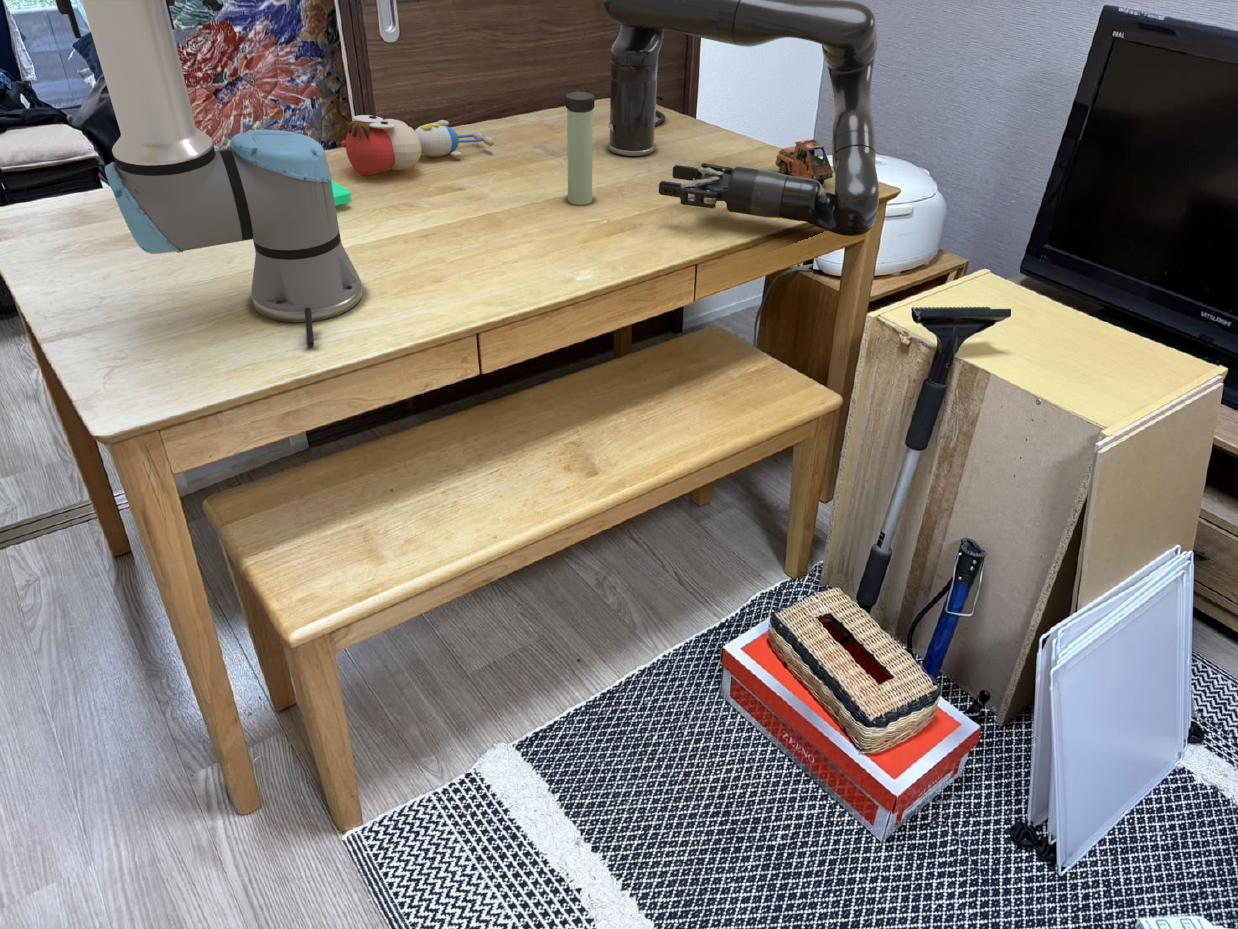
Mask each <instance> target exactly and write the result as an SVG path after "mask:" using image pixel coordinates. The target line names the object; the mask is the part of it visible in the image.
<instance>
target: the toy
mask: <svg viewBox="0 0 1238 929" xmlns="http://www.w3.org/2000/svg"><path fill="white" fill-rule="evenodd" d="M352 119H353V120H352V121H350V122H349V123H348V125H347V134H346V138H345V139H344V140H342V141H341V142H340V145H341V147H342V148H344V149H345V152H346V156H347V158H348V161H349V163H350V164H351V167H352V168H353V170H354V172H355V173H356V174H357V175H360V176H371V175H376V174H377V175H378V174H381V173H384V172H387V171H390V170H392V171H404V170H409V169H411V168H413V167H414V166H415V165H416V164H417V163H418V162H419V160H420V158H421V155H425V156H428V157H429V156H430V157H443V156H446V155H449V154H450V156H451V157H453V158H459V157H462V155H463V153H462V152H461V151H458V150H456V149H457V148H458V147H459V143H462V144H464V143H465V144H467V143H468V144H469V143H478V142H483V144H485V145H487V146H489V147H492V146H494V144H495V141H494V139H493V138H492V137H490V136H484V135H483V134H482V133H481V132H479V131H475V132H473V133H471V134H459V135H458V133H457V132H456V130H454V129H453V128H451V127H450V126H449V125H450V123H449V121H448V120H445V119H440V120H438V121H436V122H431V123H426V124H423V125H420V126H418V127H417V128H416V129H414V128H412V127H411V126H410V123H407V122H406V121H402V120H399V119H397V118H385V119H384V118H382V117H380V116H378V115H377V116H376V115H370V114H360V115H355V116H353V117H352ZM465 138H473V139H465Z"/></svg>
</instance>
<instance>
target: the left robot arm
mask: <svg viewBox="0 0 1238 929" xmlns="http://www.w3.org/2000/svg"><path fill="white" fill-rule="evenodd" d="M54 2H55V5H56V8H57V10H58V12H59V14H60V15H63V16H64V15H67V18H68V20H69V23H70V27H71V30H72V33H73V36H74V37H75V39H79V40H80V39H83V38H82V35H81V34H82V33H81V30H80V28H79V24H78V21H77V17H76V14H75V11H74V8H73V4H72V1H71V0H54ZM81 2H82V6H83V10H84V13H85V16H86V19H87V23H88V26H89V30H90V33H91V37H92V39H93V43H94V44H93V45H94V47H95V50H96V54H97V58H98V60H99V63H100V67H101V70H102V74H103V77H104V82H105V84H106V88H107V92H108V93H109V98H110V102H111V104H112V108H113V112H114V115H115V119H116V122H117V125H118V128H119V132H120V136H119V138H118V139H117V140H116V142H115V143H114V144H113V146H112V148H111V152H112V155H113V159H114V161H111V162H110V163H109V164H106V165H105V167H104V172H105V175H106V178H107V179H106V180H107V181H108V185H109V187H110V189H111V191H112V194H113V196H114V198H115V201H116V204H117V206H118V208H119V211H120V213H121V216H122V217H123V219H124V221H125V223H126V226H127V228H128V230H129V232H130V233H131V236H132V237H133V239H134V241H135V243H136V244H137V246H138V247H139V248H140V249H141V250H142V251H144V252H145V253H148V254H151V255H158V254H169V253H179V254H182V253H184V252H185V251H192V250H197V249H202V248H203V249H204V248H209V247H210V248H211V247H215V246H222V245H228V244H233V243H239V242H246V241H250V240H251V241H252V242H253V247H254V251H255V258H254V264H253V273H252V283H251V291H250V293H251V299H252V303H253V307H254V309H255V310H256V311H257V313H259V314H260V315H262V316H264V317H266V318H268V319H271V320H275V321H281V322H289V323H304V322H305V329H306V330H305V332H306V344H307V347H309V348H313V347H314V346H315V338H314V327H313V322H314V321H315V322H316V321H320V320H326V319H330V318H332V317H336V316H338V315H341V314H343V313H345V312H348V311H349V310H351V309H353V308H354V307H355V306H356V305H357V304H358V303H359V302H360V301H361V298H362V297H363V287H362V282H361V278H360V276H359V274H358V272H357V270H356V268H355V266H354V264H353V263H352V261H351V259H350V257H349V255H348V253H347V251H346V250H345V248H344V245H343V243H342V239H341V233H340V226H339V220H338V214H337V209H336V206H335V201H334V195H333V189H332V183H331V181H333V174H332V173H331V170H330V166H329V162H328V158H327V154H326V151H325V149H324V147H323V145H322V144H321V143H320V142H318V141H317V140H315V139H314V138H312V137H310V136H308V135H304V134H301V133H298V132H293V131H287V130H280V129H251V130H246V131H244V132H238V133H236V134H234V135H233V136H232V137H231V139H230V143H229V147H230V149H223V150H216V149H215V145H214V142H213V138H212V137H211V136H210V135H208V134H207V133H206V132H204V131H202V130H201V129H199V128H198V127H197V124H196V121H195V118H194V112H193V109H192V104H191V100H190V96H189V93H188V88H187V84H186V80H185V76H184V72H183V67H182V64H181V63H182V62H181V59H180V55H179V51H178V48H177V41H176V39H175V35H174V31H175V25H174V21H173V17H172V13H171V8H170V7H173V6H176V0H81Z"/></svg>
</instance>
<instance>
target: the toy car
mask: <svg viewBox="0 0 1238 929" xmlns="http://www.w3.org/2000/svg"><path fill="white" fill-rule="evenodd" d="M794 144H795V145H793V146H789V147H783V148H781V149H780V150H779V151H778V154H777V155H776V160H775V162H774V164H775V166H776V167H778V168H779V173H781V174H784V175H788V176H796V177H803V178H809V179H814V180H817V181H818V182H819V183H820V184H821V186H823V185H824V184H825V181H826V180H829V179H832V178H833V177H834V176H833V174H835V173H834V170H833V168H832V166H831V163H830V161H829V159H828V158H829V157H828V156H827V153H826V151H825V146H823V145H822V144H820V143H818V142H817V140H815V139H814V138H812V139H811V138H810V139H804V140H799V141H794ZM818 150H821V151H822V158H821V157H819V154H817V155H816V153H815V152H816V151H818Z"/></svg>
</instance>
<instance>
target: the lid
mask: <svg viewBox="0 0 1238 929" xmlns="http://www.w3.org/2000/svg"><path fill="white" fill-rule="evenodd" d="M595 101H596V100H595V95H594V94H593V93H590V92H588V91H587V92H586V91H573V92H569V93H566V95H565V108H566V110H567V109H568V110H571V111H578V112H584V111H590V110H592V109H593V110H594V109H595Z"/></svg>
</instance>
